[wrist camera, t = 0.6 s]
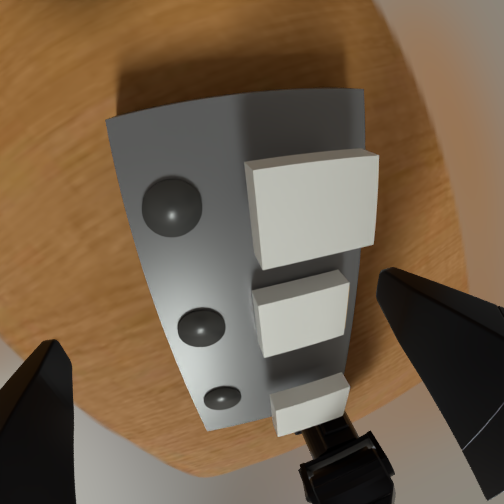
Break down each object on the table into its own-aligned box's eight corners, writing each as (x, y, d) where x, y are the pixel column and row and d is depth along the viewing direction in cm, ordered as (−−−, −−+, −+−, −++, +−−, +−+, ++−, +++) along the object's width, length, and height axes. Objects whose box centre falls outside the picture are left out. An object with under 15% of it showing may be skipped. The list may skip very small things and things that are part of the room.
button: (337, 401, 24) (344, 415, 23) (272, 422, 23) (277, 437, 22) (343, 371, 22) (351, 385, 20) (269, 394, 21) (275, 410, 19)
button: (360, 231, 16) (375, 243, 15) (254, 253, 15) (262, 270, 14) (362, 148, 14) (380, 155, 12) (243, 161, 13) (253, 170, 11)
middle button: (335, 320, 22) (345, 334, 20) (258, 342, 21) (264, 357, 19) (339, 269, 19) (351, 281, 18) (251, 290, 18) (258, 306, 17)
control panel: (328, 372, 30) (340, 395, 27) (202, 406, 28) (207, 432, 25) (337, 87, 17) (365, 89, 14) (116, 115, 15) (104, 120, 12)
